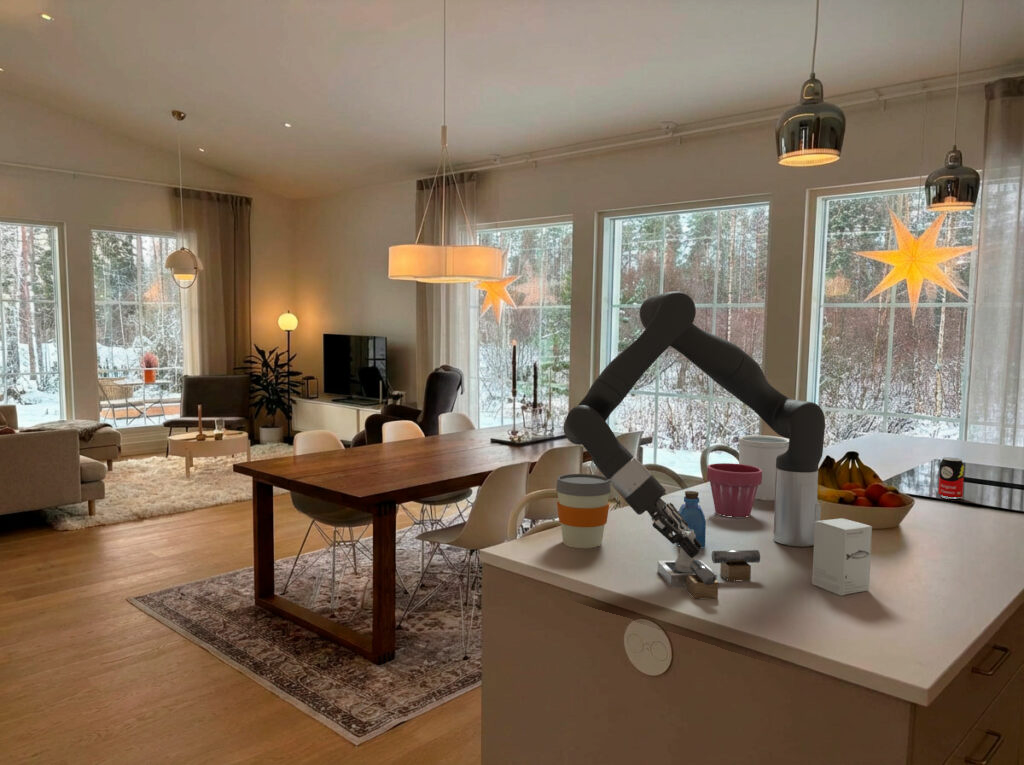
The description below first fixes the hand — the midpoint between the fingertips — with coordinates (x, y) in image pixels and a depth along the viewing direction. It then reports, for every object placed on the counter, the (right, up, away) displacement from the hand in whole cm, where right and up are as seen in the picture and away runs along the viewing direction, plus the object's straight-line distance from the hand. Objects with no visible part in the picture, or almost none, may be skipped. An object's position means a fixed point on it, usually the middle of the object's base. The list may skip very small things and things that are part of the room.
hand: (696, 551), depth 143 cm
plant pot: (+24, -3, +54) cm, 59 cm away
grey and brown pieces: (+3, -6, -3) cm, 7 cm away
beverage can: (+96, -2, +77) cm, 123 cm away
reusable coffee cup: (-20, -4, +25) cm, 33 cm away
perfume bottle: (+5, -4, +26) cm, 26 cm away
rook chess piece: (-2, -4, +1) cm, 5 cm away
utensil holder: (+40, -1, +78) cm, 87 cm away
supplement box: (+27, -6, -4) cm, 28 cm away
